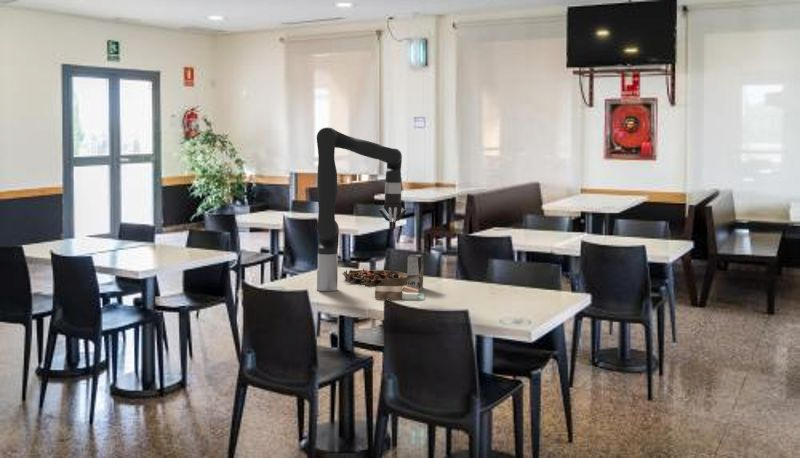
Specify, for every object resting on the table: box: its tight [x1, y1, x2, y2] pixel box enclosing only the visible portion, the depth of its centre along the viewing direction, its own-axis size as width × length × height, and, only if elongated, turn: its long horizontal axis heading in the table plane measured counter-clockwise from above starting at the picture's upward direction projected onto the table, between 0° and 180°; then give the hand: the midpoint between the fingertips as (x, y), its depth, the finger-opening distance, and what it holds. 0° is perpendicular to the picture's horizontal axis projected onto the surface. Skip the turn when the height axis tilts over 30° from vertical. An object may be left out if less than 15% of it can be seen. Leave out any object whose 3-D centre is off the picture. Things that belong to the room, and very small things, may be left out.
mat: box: [402, 292, 425, 301], centre depth 376 cm, size 10×14×1 cm
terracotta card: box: [402, 285, 419, 293], centre depth 379 cm, size 7×4×2 cm, turn 91°
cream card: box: [401, 291, 419, 300], centre depth 372 cm, size 7×4×2 cm, turn 88°
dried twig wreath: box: [342, 267, 407, 287], centre depth 414 cm, size 35×33×8 cm
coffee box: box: [406, 253, 424, 292], centre depth 394 cm, size 9×6×16 cm
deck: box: [374, 286, 403, 300], centre depth 376 cm, size 12×12×4 cm
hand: (392, 229), depth 383 cm, fingers closed
